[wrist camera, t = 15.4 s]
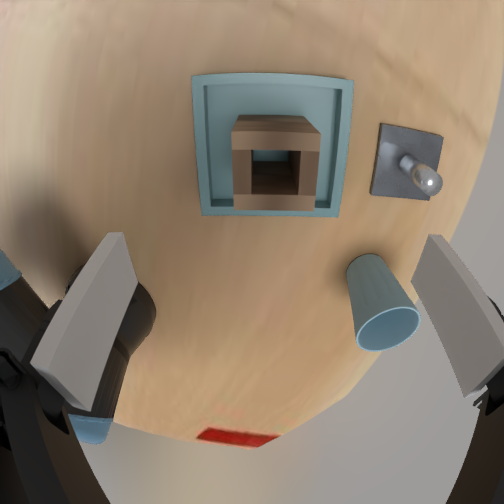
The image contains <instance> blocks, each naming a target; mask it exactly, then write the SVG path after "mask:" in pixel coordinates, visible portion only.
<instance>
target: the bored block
mask: <svg viewBox="0 0 504 504" xmlns="http://www.w3.org/2000/svg"><path fill="white" fill-rule="evenodd" d="M231 141H232V171H233V198H234V210H272V211H314V206H315V197H316V187H317V177H318V166H319V155H320V142H321V133H320V132H319V131H318V130H317V129H316V128H315V127H314V126H313V125H312V124H311V123H310V122H309V121H308V120H307V119H306V118H305V117H304V116H293V115H239V116H238V118H237V120H236V122H235V124H234V127H233V129H232V131H231ZM253 150H289V154H288V162H287V161H253Z"/></svg>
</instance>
